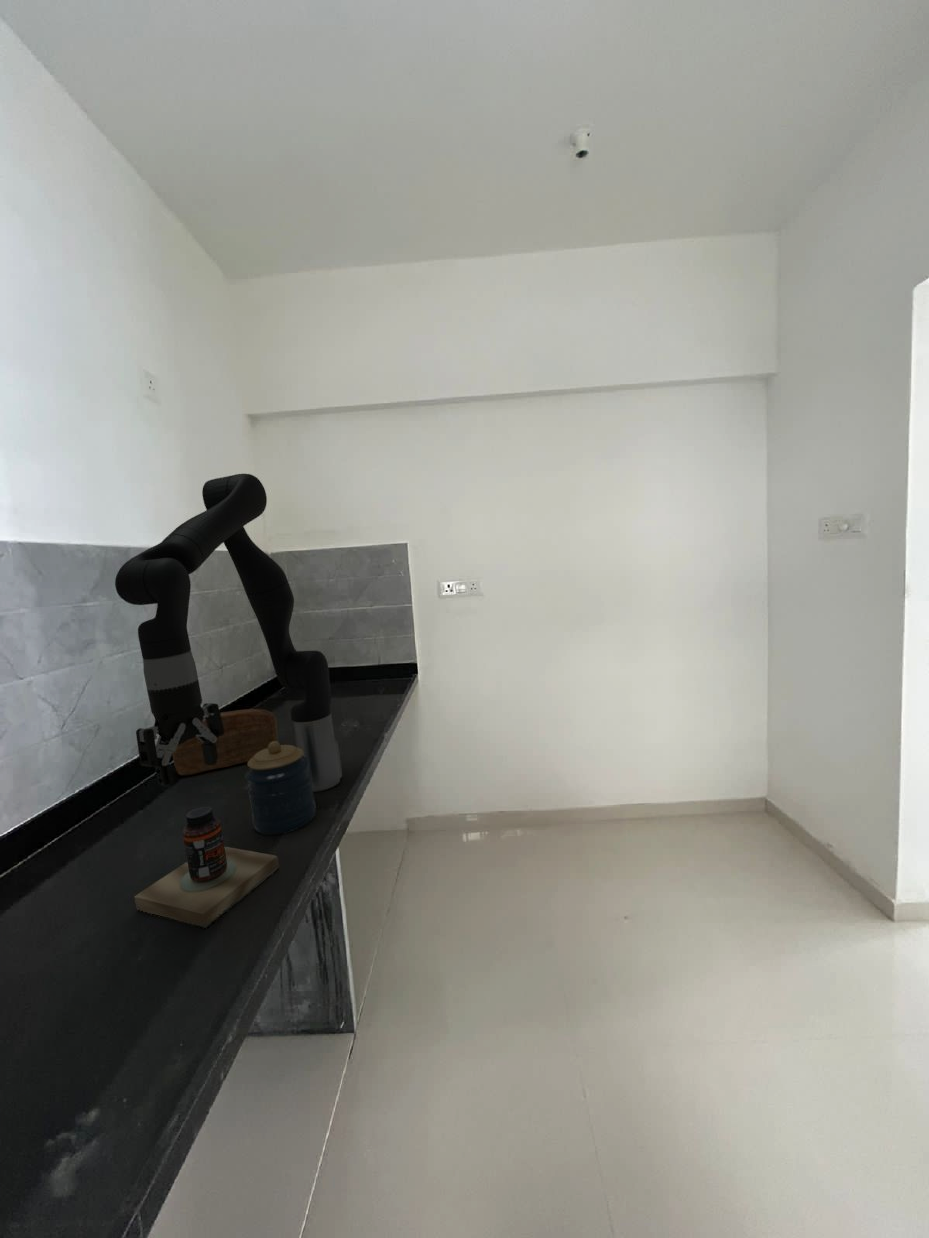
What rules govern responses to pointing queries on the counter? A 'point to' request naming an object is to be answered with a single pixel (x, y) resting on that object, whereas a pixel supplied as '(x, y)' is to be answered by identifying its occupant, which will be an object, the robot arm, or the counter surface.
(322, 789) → the robot arm
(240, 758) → the bread
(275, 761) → the canister
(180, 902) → the oak board
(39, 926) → the counter surface
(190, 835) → the supplement bottle
